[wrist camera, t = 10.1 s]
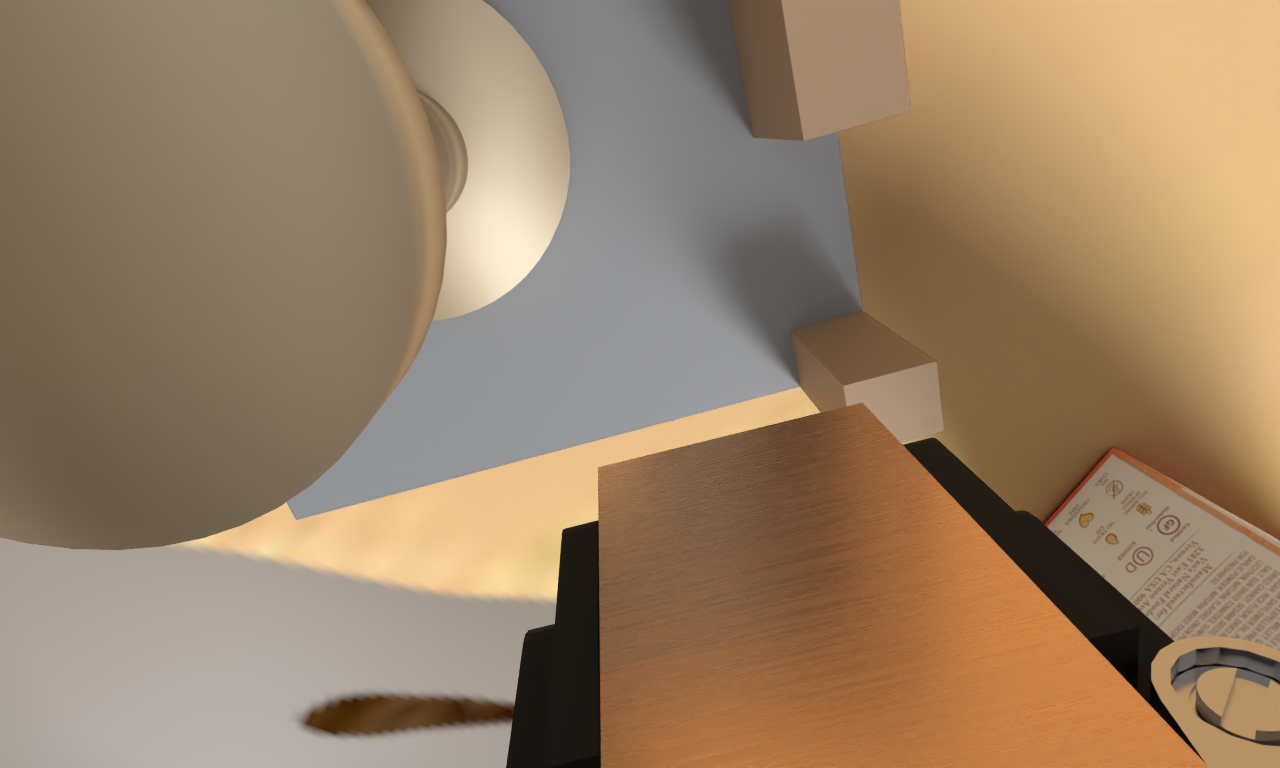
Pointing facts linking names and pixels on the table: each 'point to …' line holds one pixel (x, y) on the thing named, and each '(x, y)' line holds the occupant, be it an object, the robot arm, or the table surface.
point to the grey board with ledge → (669, 245)
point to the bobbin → (242, 241)
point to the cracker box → (1174, 552)
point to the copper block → (837, 619)
